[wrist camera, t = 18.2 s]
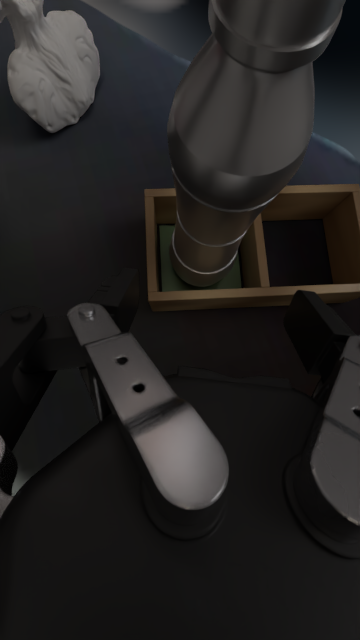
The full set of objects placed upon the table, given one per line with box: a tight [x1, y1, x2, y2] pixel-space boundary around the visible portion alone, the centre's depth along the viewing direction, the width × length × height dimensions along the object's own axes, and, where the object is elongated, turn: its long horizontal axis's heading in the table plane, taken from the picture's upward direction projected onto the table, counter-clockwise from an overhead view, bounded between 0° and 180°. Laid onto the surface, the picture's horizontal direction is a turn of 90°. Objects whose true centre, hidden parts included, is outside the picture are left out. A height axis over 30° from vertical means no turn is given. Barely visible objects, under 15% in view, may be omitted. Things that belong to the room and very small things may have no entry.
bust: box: [0, 0, 100, 133], centre depth 23 cm, size 12×8×11 cm
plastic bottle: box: [167, 0, 346, 287], centre depth 15 cm, size 6×7×20 cm
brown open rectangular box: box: [144, 184, 360, 311], centre depth 23 cm, size 20×11×4 cm, turn 93°
